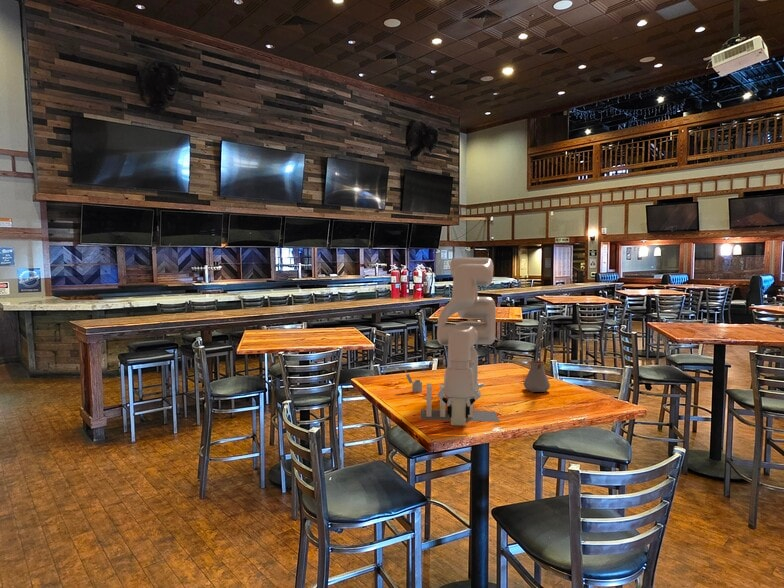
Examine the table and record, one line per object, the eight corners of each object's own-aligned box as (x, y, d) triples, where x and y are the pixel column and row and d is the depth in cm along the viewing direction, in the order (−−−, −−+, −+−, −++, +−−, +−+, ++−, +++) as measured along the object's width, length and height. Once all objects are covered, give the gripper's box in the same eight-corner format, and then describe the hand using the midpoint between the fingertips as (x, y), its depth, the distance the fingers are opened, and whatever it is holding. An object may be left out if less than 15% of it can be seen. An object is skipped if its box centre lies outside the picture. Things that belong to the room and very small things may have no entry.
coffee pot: (522, 386, 219) (523, 354, 218) (548, 388, 216) (549, 355, 215) (524, 399, 198) (525, 363, 197) (553, 401, 195) (554, 365, 195)
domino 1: (426, 416, 173) (426, 386, 173) (426, 412, 178) (426, 383, 178) (431, 416, 173) (431, 386, 173) (431, 412, 178) (431, 383, 178)
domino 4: (467, 417, 172) (468, 387, 172) (466, 413, 177) (467, 384, 177) (472, 417, 172) (473, 387, 172) (471, 413, 177) (472, 384, 177)
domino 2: (440, 416, 173) (440, 387, 172) (439, 412, 178) (440, 383, 177) (445, 417, 173) (445, 387, 172) (444, 412, 178) (445, 383, 177)
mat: (420, 420, 170) (420, 419, 170) (420, 410, 182) (420, 409, 182) (499, 422, 168) (499, 421, 168) (494, 412, 180) (494, 411, 180)
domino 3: (450, 423, 166) (451, 392, 165) (465, 423, 165) (465, 392, 164) (451, 425, 164) (451, 393, 163) (465, 425, 163) (466, 394, 163)
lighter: (421, 391, 210) (421, 373, 210) (421, 392, 209) (422, 374, 208) (405, 391, 210) (405, 373, 210) (405, 392, 208) (405, 374, 208)
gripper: (482, 362, 166) (481, 413, 167) (433, 361, 167) (433, 412, 169) (485, 367, 159) (484, 420, 160) (434, 366, 160) (433, 419, 161)
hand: (458, 416), depth 164 cm, fingers closed on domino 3, 4 cm apart
